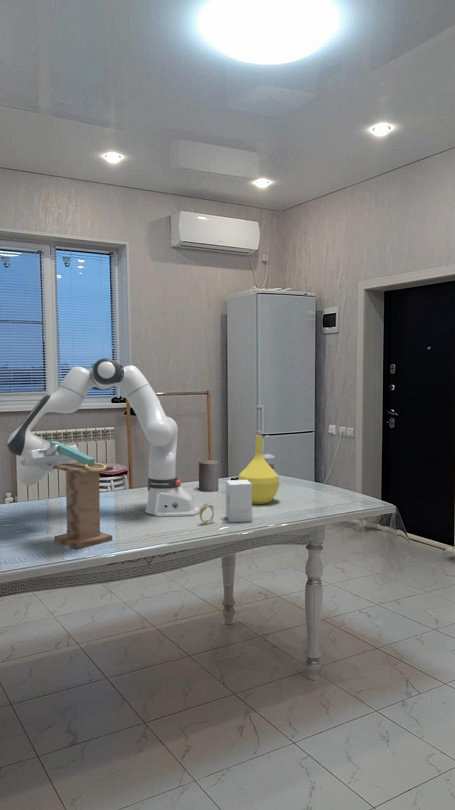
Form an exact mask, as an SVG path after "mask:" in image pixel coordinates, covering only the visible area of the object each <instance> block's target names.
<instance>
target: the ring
mask: <svg viewBox="0 0 455 810" xmlns="http://www.w3.org/2000/svg"><path fill="white" fill-rule="evenodd" d="M207 508H209V509H210V510H211V512H212V515H211V518H210V519H209V520H205V519H203V516H202V515H203V513H204V511H206V509H207ZM199 509H200V511H199V513H198V518H199V520H200V521H201V522H202V523H204V524H207V523H208V524H210V523H211V522H212V521H214V519H215V516H216V509H215V507H214V505H212V504H211V502H208V503H207V502H204V503H203V504H202V505H201V506H200V507H199Z"/></svg>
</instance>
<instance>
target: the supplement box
mask: <svg viewBox="0 0 455 810" xmlns="http://www.w3.org/2000/svg"><path fill="white" fill-rule="evenodd" d="M225 492H226V494H225V502H226V503H225V517H226V519H227V518H228V519H227V520H228V521H229V523H242V522H245V523H246V522H252V521H253V503H252V484H251V483H250V482H249V481H248V480H238V479H235V480H234V479H233V480H230V479H228V480H226V481H225Z"/></svg>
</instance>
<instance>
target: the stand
mask: <svg viewBox="0 0 455 810" xmlns="http://www.w3.org/2000/svg"><path fill="white" fill-rule="evenodd" d="M88 467H90V468H103V467H101V466H95V465H94V466H88ZM53 468H55V469H57V470H60V471H65V491H66V493H65V495H66V500H65V501H66V533H63V534H59V535H54V542H57V543H59V544H62V543H63V544H62V545H64V546H67V545H68V547H70V548H73V549H76V550H81V549H84V548H88V547H91V546H92V547H93V546H95V545H99V544H103V542H104V543H107V542H110V541H111V542H112V541H113V535H111V534H108V533H105V532H102V531H101V523H100V522H101V510H100V509H101V508H100V507H101V506H100V502H101V501H100V473H102V472H109V471H113V470H114V466H110V465H106V469H105V470H104V471H90V470H88V469H86V468H85V465H84V464H82V463H80V462H78V461H74V462H69V463H66V464H59V465H53Z"/></svg>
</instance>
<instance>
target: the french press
mask: <svg viewBox="0 0 455 810" xmlns="http://www.w3.org/2000/svg"><path fill="white" fill-rule="evenodd" d="M265 438H266V440H267V441H266V442H267V443H266V445H267V447H266V449H267V450H266V451H267V453H266V454H262V455H263V458H264V460H266V462H267V463H268V460H274V459H276V457H275V455H273V454H270V453H268V452H269V451H268V450H269V446H268V445H269V439H268V438H270V435H268V434H267V435H265ZM268 464H269V466H270V467H271V468H272V469H273V470H274V471H275V472H276V470H275V469H276V468H275V467H274V466H275V464H273V463H268Z"/></svg>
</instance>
